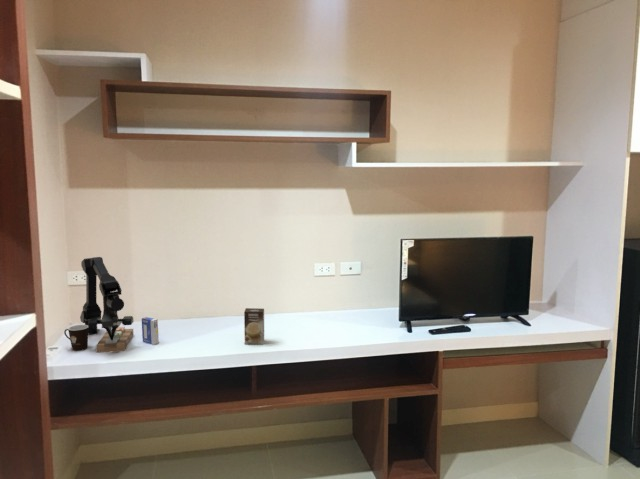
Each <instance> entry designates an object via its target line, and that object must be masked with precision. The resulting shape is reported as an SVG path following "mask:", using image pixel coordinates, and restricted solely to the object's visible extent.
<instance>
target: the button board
mask: <svg viewBox="0 0 640 479" xmlns="http://www.w3.org/2000/svg"><path fill="white" fill-rule="evenodd" d="M134 334H135V333H134V328H125V332H124V333H122V336H121V338H119V341H118V343H107V344H106V341H107V339H109V334H108V332H107V331H106V332H105V333H104V334H103V336H102V337H101V338H100V340H99V341H98V342H97V343H96V345H95V346H96V353H111V352H113V353H114V352H116V353H117V352H125V351H126V350H127V348H128V346H129V344H130V343H131V341H132V339H133V338H134Z"/></svg>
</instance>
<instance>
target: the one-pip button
mask: <svg viewBox="0 0 640 479" xmlns="http://www.w3.org/2000/svg"><path fill="white" fill-rule="evenodd" d="M118 341H119V338H113V340H111V339H110V338H109V339H107V341H106V344H107V343H118Z"/></svg>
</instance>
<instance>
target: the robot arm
mask: <svg viewBox="0 0 640 479" xmlns="http://www.w3.org/2000/svg"><path fill="white" fill-rule="evenodd" d="M81 268H82V271H83V272H84V274H85V276H86V278H85V283H86V284H85V288H86V290H85V293H86V294H85V295H86V297H85V298H86V299H85V301H86V302H85V303H84V304H83V305H82V311H81V313H80V317H79V319H80V322H81V323H82V324H84V325H88V327H89V330H88V335H97V334H98V333H99V331H100V329H99V328H98V325H101V328H102V329H104V330H105V331H106V332H108V334H109V337H110V339H111V340H113V338H114V335H115V332H116V329H117V327H121V326H120V325H123V326H131V325H132V324H133V323H134V316H133V315H125V316H123V318H119V315H118V312H119V311H121V310H123V309H124V307H125V301H124V300H123V299H122V298H120V295H122V288H121V285H120V283H119V281H118V280H117V279H116V278H115V277H114V276H113V275H111V274H110V272H109V270H108V269H107V267H106V265H105V264H104V260H103V257H102V256H96V257H95V256H94V257H88V258H87V257H86V258H84V259H83V260H82V261H81ZM97 277H98V279H99V284H98V285H99V287H98V289H99V291H100V293H101V296H102V305H103V306H102V307H103V311H102V309H101V308H100V306H99V304H98V303H97V283H98V282H97V281H98V280H97Z"/></svg>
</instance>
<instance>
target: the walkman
mask: <svg viewBox="0 0 640 479" xmlns="http://www.w3.org/2000/svg"><path fill="white" fill-rule="evenodd" d="M141 330H142V331H141V332H142V335H141V336H142V342H143V343H145V344H149V345H150V344H151V345H156V344H159V342H160V340H159V339H160V338H159V322H158V318H154V317H153V318H152V317H148V316H146V317H142V318H141Z"/></svg>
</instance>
